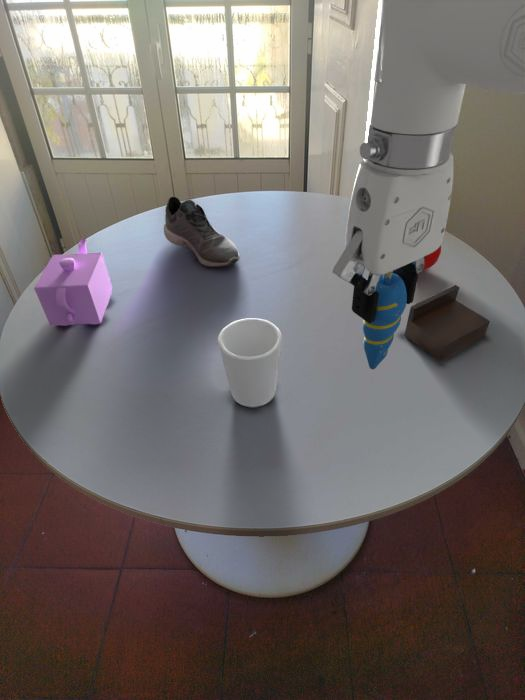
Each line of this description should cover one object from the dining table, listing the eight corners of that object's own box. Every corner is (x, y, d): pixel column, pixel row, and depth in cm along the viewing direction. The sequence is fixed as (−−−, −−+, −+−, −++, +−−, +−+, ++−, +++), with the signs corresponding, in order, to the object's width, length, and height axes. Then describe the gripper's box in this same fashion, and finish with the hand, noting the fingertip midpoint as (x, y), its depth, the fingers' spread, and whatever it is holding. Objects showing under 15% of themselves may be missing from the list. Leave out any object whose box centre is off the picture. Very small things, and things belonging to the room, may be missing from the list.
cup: (244, 366, 85) (240, 310, 77) (292, 385, 82) (293, 328, 73) (213, 402, 79) (205, 346, 71) (263, 424, 75) (261, 368, 67)
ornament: (348, 376, 59) (358, 276, 49) (357, 350, 63) (368, 252, 53) (389, 385, 58) (408, 284, 48) (396, 358, 61) (416, 259, 51)
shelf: (484, 337, 89) (495, 307, 84) (440, 362, 85) (449, 332, 80) (447, 313, 95) (455, 284, 90) (404, 335, 90) (410, 306, 86)
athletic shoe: (216, 279, 107) (210, 231, 99) (160, 238, 122) (151, 193, 114) (251, 263, 111) (248, 216, 103) (192, 225, 126) (186, 182, 118)
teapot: (99, 337, 93) (81, 284, 84) (49, 339, 93) (25, 287, 84) (119, 280, 108) (105, 231, 99) (75, 282, 108) (58, 233, 99)
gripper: (364, 181, 36) (346, 354, 48) (505, 133, 43) (458, 296, 55) (305, 154, 41) (303, 318, 53) (440, 114, 47) (410, 268, 60)
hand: (382, 305), depth 54 cm, fingers closed on ornament, 5 cm apart
